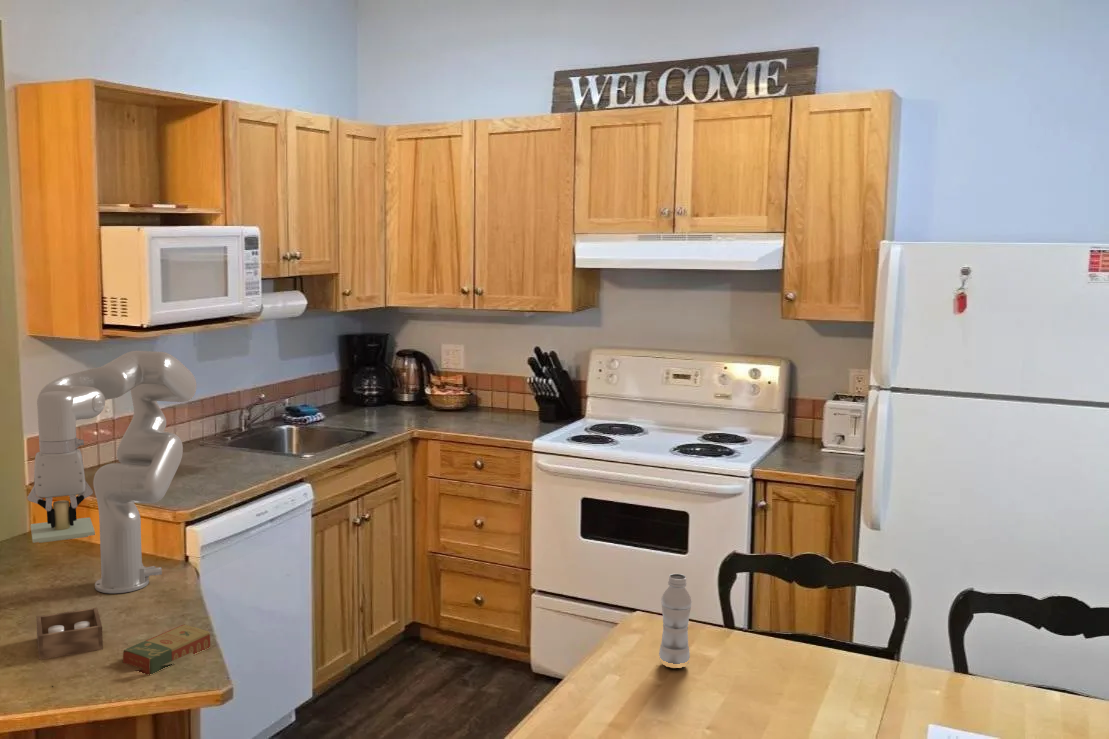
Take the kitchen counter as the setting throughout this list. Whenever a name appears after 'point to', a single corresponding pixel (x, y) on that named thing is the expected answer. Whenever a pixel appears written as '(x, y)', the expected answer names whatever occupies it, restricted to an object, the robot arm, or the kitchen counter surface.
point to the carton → (166, 648)
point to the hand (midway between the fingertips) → (62, 524)
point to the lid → (62, 526)
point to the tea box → (69, 633)
